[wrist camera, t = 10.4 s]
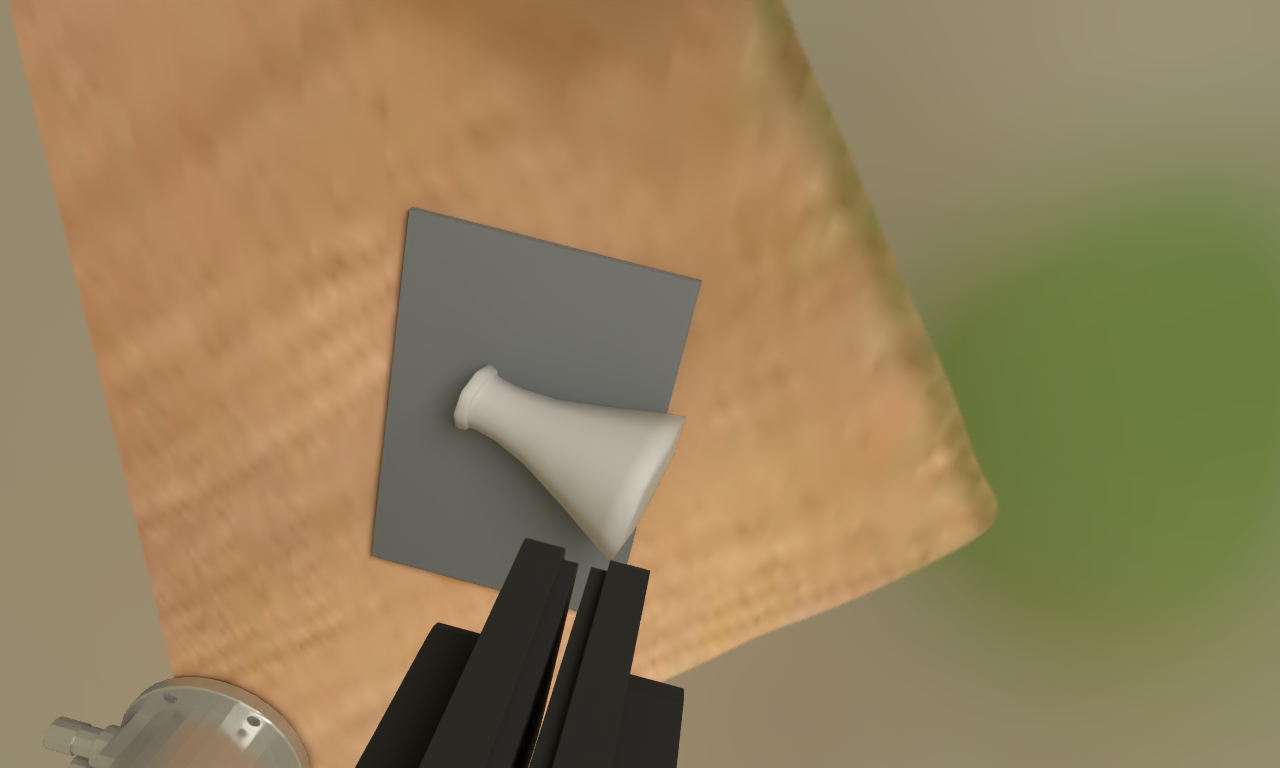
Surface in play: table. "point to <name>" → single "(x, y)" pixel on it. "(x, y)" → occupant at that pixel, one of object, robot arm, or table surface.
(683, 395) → the table surface
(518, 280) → the mat
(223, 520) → the table surface
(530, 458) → the flask
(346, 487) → the table surface
